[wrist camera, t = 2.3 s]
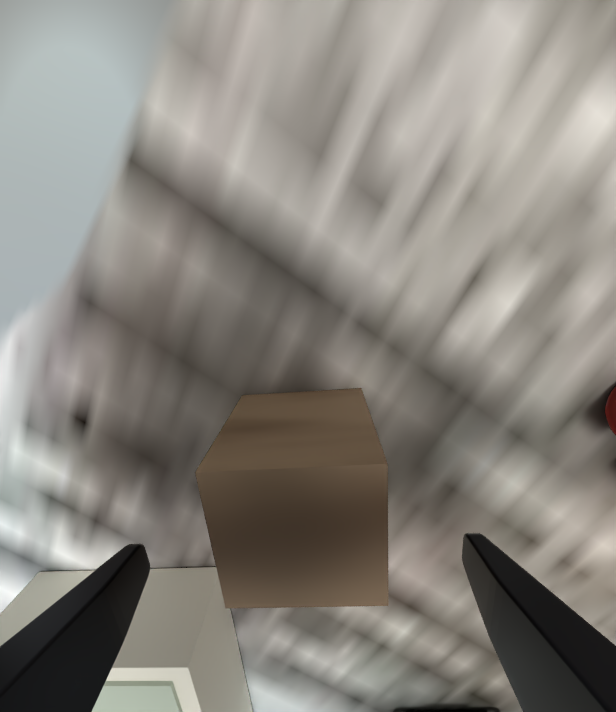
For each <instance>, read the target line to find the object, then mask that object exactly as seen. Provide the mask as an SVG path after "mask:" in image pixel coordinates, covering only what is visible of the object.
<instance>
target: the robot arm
mask: <svg viewBox="0 0 616 712" xmlns="http://www.w3.org/2000/svg"><path fill="white" fill-rule="evenodd" d="M462 561H463V565H464V568H465V571H466V574H467V577H468V580H469V582H470V585H471V588H472V591H473V593H474V596H475V599H476V602H477V605H478V607H479V610H480V613H481V616H482V618H483V621H484V624H485V627H486V629H487V632H488V635H489V637H490V640H491V642H492V644H493V646H494V649H495V651H496V653H497V655H498V658H499V660H500V662H501V664H502V666H503V669H504V671H505V673H506V675H507V677H508V679H509V682H510V684H511V686H512V688H513V690H514V693H515V695H516V697H517V699H518V701H519V704H520V706H521V708H522V710H523V712H616V646H615V645H614V644H613V643H612V642H610V641H609V640H608V639H607V638H606V637H604V636H603V635H602V634H601V633H600V632H599V631H597V630H596V629H595V628H594V627H593V626H591V625H590V624H589V623H588V622H587V621H585V620H584V619H583V618H582V617H581V616H579V615H578V614H577V613H576V612H575V611H573V610H572V609H571V608H570V607H569V606H567V605H566V604H565V603H564V602H563V601H561V600H560V599H559V598H558V597H557V596H555V595H554V594H553V593H552V592H551V591H549V590H548V589H547V588H546V587H545V586H543V585H542V584H541V583H540V582H539V581H537V580H536V579H535V578H534V577H533V576H531V575H530V574H529V573H528V572H527V571H525V570H524V569H523V568H522V567H521V566H519V565H518V564H517V563H516V562H515V561H513V560H512V559H511V558H510V557H509V556H508V555H506V554H505V553H504V552H503V551H502V550H500V549H499V548H498V547H497V546H496V545H494V544H493V543H492V542H491V541H490V540H488V539H487V538H486V537H485V536H483V535H482V534H480V533H467V534H465V535H464V538H463V550H462ZM149 572H150V563H149V559H148V556H147V553H146V550H145V547H144V545H143V544H129V545H127V546H125V547H124V548H123V549H121V550H120V551H119V552H118V553H116V554H115V555H114V556H113V557H111V558H110V559H109V560H108V561H106V562H105V563H104V564H103V565H101V566H100V567H99V568H98V569H96V570H95V571H94V572H93V573H91V574H90V575H89V576H88V577H86V578H85V579H84V580H83V581H81V582H80V583H79V584H78V585H76V586H75V587H74V588H73V589H71V590H70V591H69V592H68V593H66V594H65V595H64V596H63V597H61V598H60V599H59V600H58V601H56V602H55V603H54V604H53V605H51V606H50V607H49V608H48V609H46V610H45V611H44V612H43V613H41V614H40V615H39V616H38V617H36V618H35V619H34V620H33V621H31V622H30V623H29V624H28V625H26V626H25V627H24V628H22V629H21V630H20V631H19V632H17V633H16V634H15V635H14V636H12V637H11V638H10V639H9V640H7V641H6V642H5V643H4V644H2V645H1V646H0V712H92V710H93V708H94V706H95V703H96V701H97V699H98V697H99V695H100V693H101V690H102V688H103V686H104V684H105V682H106V680H107V677H108V675H109V673H110V671H111V669H112V666H113V664H114V662H115V660H116V658H117V656H118V653H119V651H120V649H121V647H122V644H123V642H124V640H125V637H126V635H127V632H128V630H129V627H130V624H131V622H132V619H133V616H134V614H135V611H136V608H137V606H138V603H139V600H140V597H141V595H142V592H143V589H144V587H145V584H146V581H147V579H148V576H149Z"/></svg>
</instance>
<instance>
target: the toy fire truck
mask: <svg viewBox="0 0 616 712" xmlns="http://www.w3.org/2000/svg"><path fill="white" fill-rule="evenodd" d="M605 414H606V418H607V421H608V424H609V426H610V428H611V430H612V431H613V432H614V434H615V435H616V386H615V388H614V389H613V390H612V392H611V393H610V395H609V397H608V400H607V403H606V406H605Z"/></svg>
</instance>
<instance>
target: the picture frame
mask: <svg viewBox="0 0 616 712" xmlns="http://www.w3.org/2000/svg"><path fill="white" fill-rule="evenodd" d="M94 571H95V570H89V571H51V572H39V573H38V574H37V575H36V576H35V577H34V578H33V579H32V580H31V581H30V582H29V583H28V584H27V586H26V587H25V588H24V589H23V590H22V591H21V592H20V593H19V594H18V595H17V596H16V597H15V599H14V600H13V601H12V602H11V603H10V604H9V605H8V606H7V607H6V608H5V609H4V611H3V612H2V613H1V614H0V646H1V645H2V644H4V643H5V642H6V641H7V640H9V639H10V638H11V637H12V636H14V635H15V634H16V633H17V632H19V631H20V630H21V629H22V628H24V627H25V626H26V625H28V624H29V623H30V622H31V621H33V620H34V619H35V618H36V617H38V616H39V615H40V614H41V613H43V612H44V611H45V610H46V609H48V608H49V607H50V606H51V605H53V604H54V603H55V602H56V601H58V600H59V599H60V598H61V597H63V596H64V595H65V594H66V593H68V592H69V591H70V590H71V589H73V588H74V587H75V586H76V585H78V584H79V583H80V582H81V581H83V580H84V579H85V578H86V577H88V576H89V575H90V574H91V573H93V572H94ZM92 712H253V710H252V705H251V701H250V696H249V692H248V687H247V682H246V678H245V673H244V669H243V664H242V660H241V655H240V651H239V646H238V641H237V637H236V632H235V628H234V623H233V619H232V614H231V610H230V608H225V604H224V600H223V595H222V591H221V586H220V582H219V577H218V573H217V568H216V567H202V568H164V569H150V572H149V576H148V579H147V581H146V584H145V587H144V589H143V592H142V595H141V597H140V600H139V603H138V606H137V608H136V611H135V614H134V616H133V619H132V622H131V624H130V627H129V630H128V632H127V635H126V637H125V640H124V642H123V644H122V647H121V649H120V651H119V653H118V656H117V658H116V660H115V662H114V664H113V666H112V669H111V671H110V673H109V675H108V677H107V680H106V682H105V684H104V686H103V688H102V690H101V693H100V695H99V697H98V699H97V701H96V703H95V706H94V708H93V710H92Z"/></svg>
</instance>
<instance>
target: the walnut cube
mask: <svg viewBox="0 0 616 712" xmlns="http://www.w3.org/2000/svg"><path fill="white" fill-rule="evenodd" d="M195 474H196V479H197V483H198V488H199V492H200V497H201V501H202V506H203V510H204V515H205V519H206V524H207V528H208V533H209V537H210V541H211V546H212V550H213V555H214V559H215V564H216V568H217V573H218V577H219V582H220V586H221V591H222V595H223V600H224V604H225V608H280V607H341V606H388V464H387V461H386V458H385V455H384V452H383V449H382V447H381V444H380V441H379V438H378V435H377V432H376V429H375V426H374V424H373V421H372V418H371V415H370V412H369V409H368V406H367V403H366V401H365V398H364V395H363V392H362V389H361V388H355V389H338V390H322V391H305V392H289V393H272V394H256V395H242V397H241V398H240V400H239V401H238V403H237V405H236V406H235V408H234V410H233V411H232V413H231V414H230V416H229V418H228V419H227V421H226V423H225V424H224V426H223V428H222V429H221V431H220V432H219V434H218V436H217V437H216V439H215V441H214V442H213V444H212V446H211V447H210V449H209V450H208V452H207V454H206V455H205V457H204V459H203V460H202V462H201V464H200V465H199V467H198V468H197V470H196V472H195Z"/></svg>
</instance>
